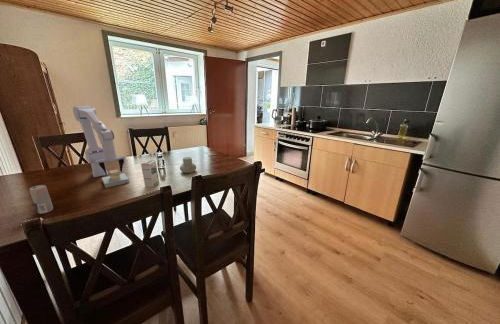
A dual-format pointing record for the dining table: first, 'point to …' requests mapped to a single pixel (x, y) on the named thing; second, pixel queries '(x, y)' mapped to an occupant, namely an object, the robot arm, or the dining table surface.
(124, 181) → the grey-blue block
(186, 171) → the air freshener
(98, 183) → the dining table surface
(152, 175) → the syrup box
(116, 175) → the birch cube
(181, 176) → the dining table surface
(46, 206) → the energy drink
